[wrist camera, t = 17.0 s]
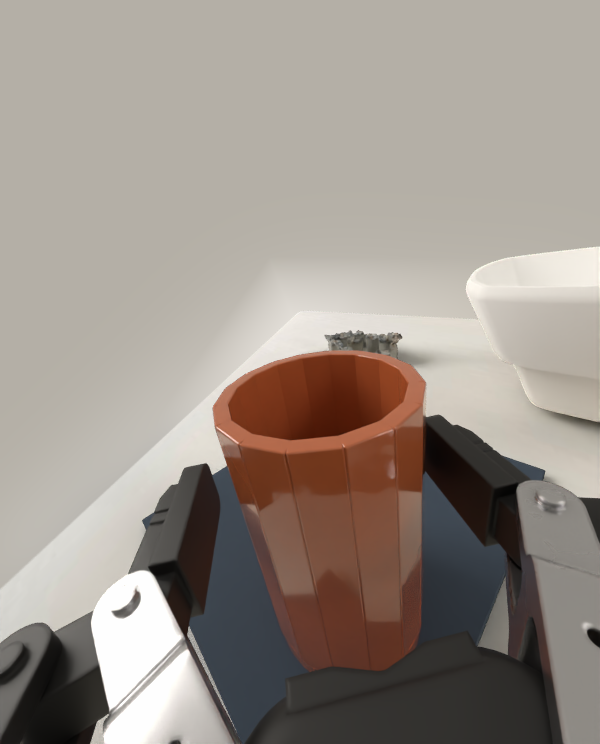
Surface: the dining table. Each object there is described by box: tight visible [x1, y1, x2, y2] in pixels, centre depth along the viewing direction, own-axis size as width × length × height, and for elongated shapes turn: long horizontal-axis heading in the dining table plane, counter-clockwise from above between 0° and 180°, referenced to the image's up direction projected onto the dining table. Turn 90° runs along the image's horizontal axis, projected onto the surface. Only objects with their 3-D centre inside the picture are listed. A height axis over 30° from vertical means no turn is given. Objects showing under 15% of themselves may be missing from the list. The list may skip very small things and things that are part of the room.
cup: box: [213, 350, 426, 672], centre depth 11 cm, size 7×7×11 cm
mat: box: [142, 456, 545, 744], centre depth 19 cm, size 20×18×1 cm
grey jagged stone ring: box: [325, 330, 402, 359], centre depth 41 cm, size 11×8×4 cm
